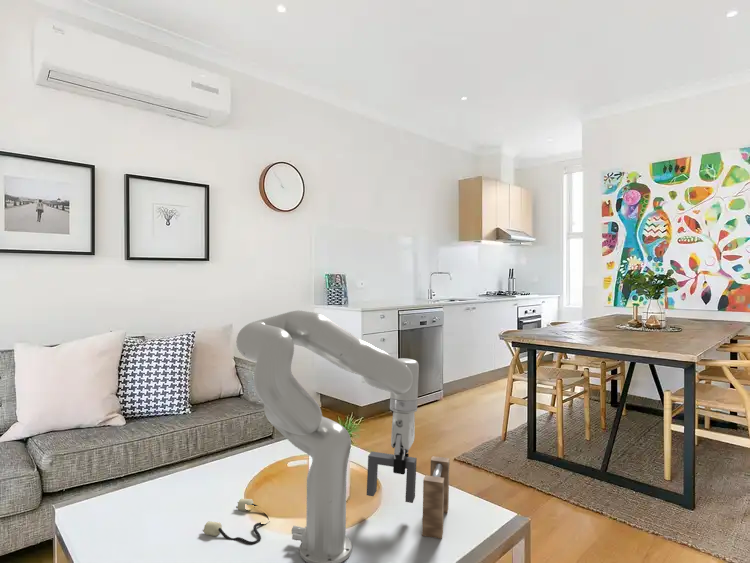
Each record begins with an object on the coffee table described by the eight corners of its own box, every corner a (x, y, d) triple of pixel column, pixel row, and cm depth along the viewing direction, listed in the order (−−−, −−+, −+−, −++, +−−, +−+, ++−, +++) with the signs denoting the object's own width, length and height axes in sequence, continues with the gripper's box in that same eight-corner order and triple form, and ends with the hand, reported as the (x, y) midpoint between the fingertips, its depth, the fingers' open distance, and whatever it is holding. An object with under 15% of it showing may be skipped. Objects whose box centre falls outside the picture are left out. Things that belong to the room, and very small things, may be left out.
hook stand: (422, 535, 120) (423, 480, 120) (431, 505, 135) (432, 456, 135) (441, 538, 119) (442, 482, 118) (448, 507, 134) (449, 458, 134)
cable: (287, 517, 129) (287, 505, 129) (251, 550, 113) (251, 537, 113) (241, 505, 134) (241, 494, 134) (200, 536, 119) (200, 522, 119)
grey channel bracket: (366, 495, 129) (368, 455, 129) (369, 489, 133) (371, 451, 133) (412, 503, 126) (414, 462, 126) (414, 497, 129) (416, 457, 129)
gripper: (411, 413, 120) (408, 485, 120) (421, 398, 135) (419, 461, 136) (383, 410, 121) (380, 480, 122) (396, 395, 137) (394, 457, 138)
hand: (400, 469), depth 129 cm, fingers closed on grey channel bracket, 3 cm apart
